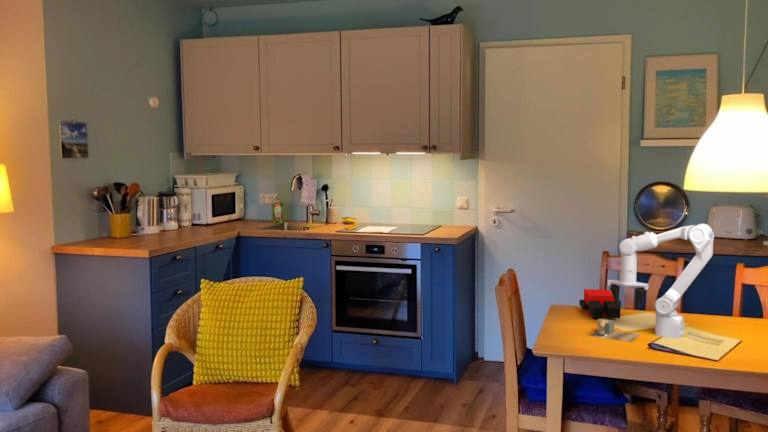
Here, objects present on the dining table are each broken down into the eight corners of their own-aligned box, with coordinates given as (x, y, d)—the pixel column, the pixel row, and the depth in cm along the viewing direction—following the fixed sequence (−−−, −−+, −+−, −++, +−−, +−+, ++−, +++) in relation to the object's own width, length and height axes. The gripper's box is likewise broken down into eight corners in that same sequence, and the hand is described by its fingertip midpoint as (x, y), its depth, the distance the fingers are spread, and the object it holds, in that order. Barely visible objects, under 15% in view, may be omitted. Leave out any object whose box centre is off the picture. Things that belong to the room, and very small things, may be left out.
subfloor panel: (640, 337, 259) (640, 334, 259) (631, 345, 250) (631, 342, 249) (599, 331, 268) (600, 328, 268) (589, 338, 258) (589, 335, 258)
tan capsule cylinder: (605, 335, 258) (606, 319, 257) (603, 337, 256) (603, 320, 255) (598, 334, 260) (599, 318, 259) (596, 335, 257) (596, 319, 257)
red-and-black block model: (587, 302, 280) (579, 288, 305) (587, 322, 281) (578, 307, 306) (626, 303, 278) (614, 289, 303) (625, 323, 279) (613, 308, 304)
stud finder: (614, 331, 264) (614, 319, 264) (609, 334, 259) (609, 322, 259) (603, 329, 266) (603, 317, 266) (598, 333, 261) (598, 321, 261)
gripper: (605, 270, 265) (604, 305, 267) (645, 274, 257) (644, 310, 259) (611, 267, 271) (610, 302, 273) (650, 271, 263) (649, 307, 264)
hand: (627, 306), depth 266 cm, fingers open, 7 cm apart
